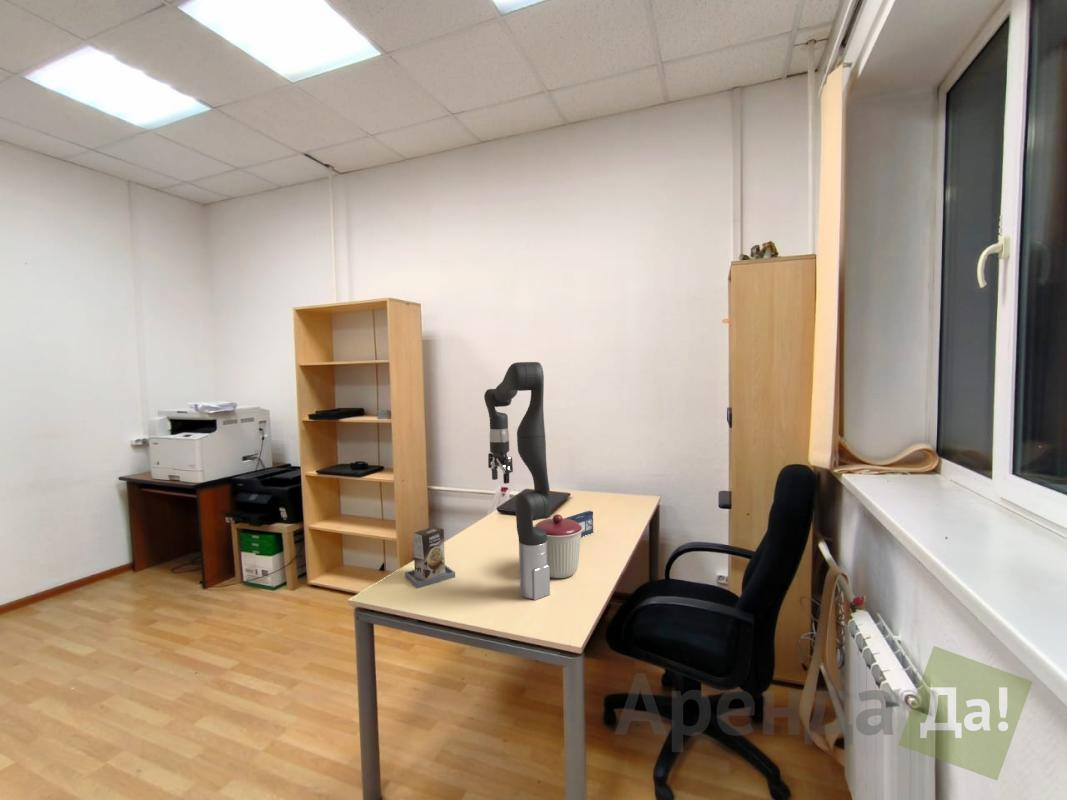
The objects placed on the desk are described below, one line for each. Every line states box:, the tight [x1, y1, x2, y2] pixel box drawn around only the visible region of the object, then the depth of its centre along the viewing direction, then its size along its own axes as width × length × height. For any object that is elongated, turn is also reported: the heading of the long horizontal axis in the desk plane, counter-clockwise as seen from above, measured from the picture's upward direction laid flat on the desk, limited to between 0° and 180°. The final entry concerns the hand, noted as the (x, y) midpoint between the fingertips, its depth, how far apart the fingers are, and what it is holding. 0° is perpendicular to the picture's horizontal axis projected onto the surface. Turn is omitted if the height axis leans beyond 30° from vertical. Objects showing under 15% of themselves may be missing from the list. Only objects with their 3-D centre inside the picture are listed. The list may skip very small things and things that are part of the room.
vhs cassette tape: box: [564, 510, 594, 538], centre depth 202 cm, size 18×3×10 cm, turn 129°
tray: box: [404, 564, 456, 589], centre depth 166 cm, size 11×14×2 cm
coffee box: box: [413, 526, 446, 580], centre depth 166 cm, size 9×6×16 cm
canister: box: [533, 514, 583, 579], centre depth 167 cm, size 18×18×21 cm
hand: (500, 481), depth 181 cm, fingers open, 8 cm apart
